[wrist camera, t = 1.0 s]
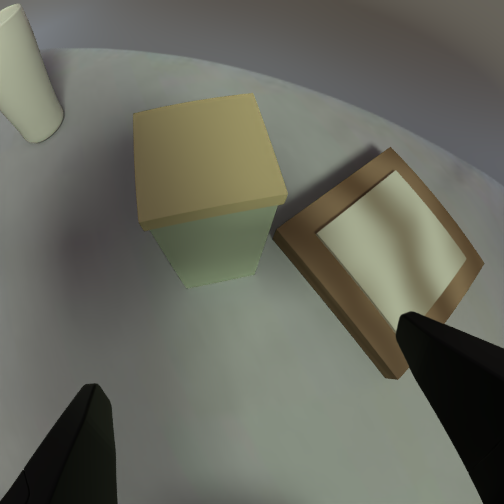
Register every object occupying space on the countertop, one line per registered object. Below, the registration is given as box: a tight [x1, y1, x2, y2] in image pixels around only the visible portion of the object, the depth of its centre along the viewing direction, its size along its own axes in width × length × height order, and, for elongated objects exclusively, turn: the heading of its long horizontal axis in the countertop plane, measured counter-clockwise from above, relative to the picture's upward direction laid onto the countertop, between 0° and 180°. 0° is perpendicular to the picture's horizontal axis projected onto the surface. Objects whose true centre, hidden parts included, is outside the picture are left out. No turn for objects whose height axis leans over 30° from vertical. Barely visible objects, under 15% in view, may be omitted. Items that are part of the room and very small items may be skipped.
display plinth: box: [273, 147, 484, 380], centre depth 23 cm, size 14×14×2 cm
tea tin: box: [133, 93, 288, 289], centre depth 17 cm, size 5×5×12 cm
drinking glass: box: [0, 4, 64, 143], centre depth 19 cm, size 7×7×15 cm
